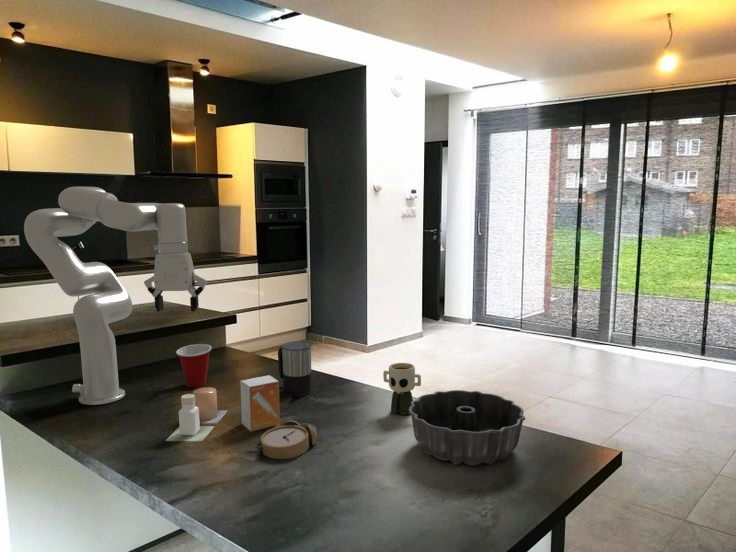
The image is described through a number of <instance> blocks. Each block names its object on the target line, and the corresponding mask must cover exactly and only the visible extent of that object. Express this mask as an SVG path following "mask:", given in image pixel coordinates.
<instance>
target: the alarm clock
mask: <svg viewBox="0 0 736 552" xmlns="http://www.w3.org/2000/svg"><path fill="white" fill-rule="evenodd" d="M318 435H319V432H317V427H316V425H314V424H310V423H299V422H298V421H296V420H288V421H286V422H284V424H283V425H280V426H279V427H275V426H274V427H272V428H271V429H267V430H266V431H265V432H264V433H263V434H262V435H261V437H260V443H261V445H259V446H258V448H261V453H263V455H264V456H266V457H268V458H271V459H274V460H275V459H276V460H277V459H279V460H286V459H287V460H288V459H293V458H297V457H299V456H301V455H304V454H305V453H306V452H307V451H308V450H309V448H310V443H311V446H313V445H315V444H316V443H317V440H318Z"/></svg>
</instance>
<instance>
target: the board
mask: <svg viewBox="0 0 736 552" xmlns="http://www.w3.org/2000/svg"><path fill="white" fill-rule="evenodd" d="M217 413H218V416H217V417H216V418H214V419H212V420H207V421H200V424H218V423H219V422H220V421H221V419H222V418H223V417H224V416H225V415H226V413H228V410H218V409H217ZM214 428H215V426H213V425H212V426H210V425H208V426H207V425H206V426H205V425H200V430H199V431H198V432H197V433H196V435H194V436H191V435H180V426H178V427H177V428H176V429H175V430H174V431H173V432H172V434H171V435H169V437H168V438H166V439H165V442H203V441H204V440H205V439H206V437H207V436H208V435H209V434H210V433H211V432H212V430H213V429H214Z"/></svg>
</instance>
